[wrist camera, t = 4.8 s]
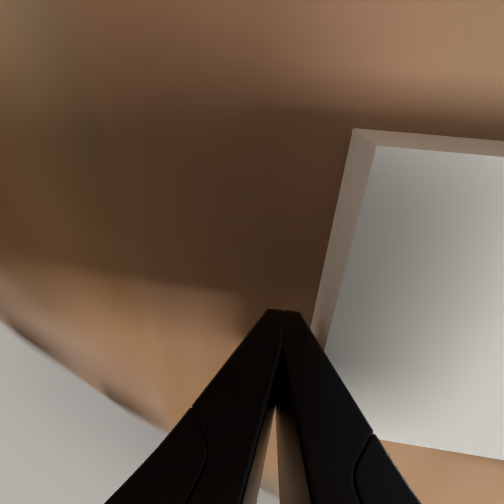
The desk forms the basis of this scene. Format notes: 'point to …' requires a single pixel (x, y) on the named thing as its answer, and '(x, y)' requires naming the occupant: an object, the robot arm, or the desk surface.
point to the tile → (419, 289)
